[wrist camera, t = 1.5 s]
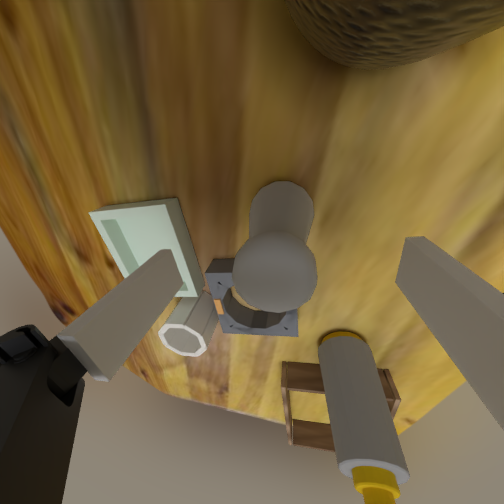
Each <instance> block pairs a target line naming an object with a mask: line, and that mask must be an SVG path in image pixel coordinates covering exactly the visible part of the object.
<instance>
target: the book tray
mask: <svg viewBox="0 0 504 504" xmlns="http://www.w3.org/2000/svg"><path fill="white" fill-rule="evenodd" d="M377 371H378V374H379V377H380V381H381V384H382V387H383V390H384V394H385V397H386V400H387V403H388V406H389V410H390V413H391V416H392V419H394V416H395V414H396V411H397V409H398V407H399V404H400V402H401V398H400V396H399V393H398V391H397V389H396V386H395V384H394V381H393V379H392V377H391V374H390V372H389V370H386V369H384V371H382V369H377ZM281 390H282V398H283V405H284V412H285V420H286V427H287V435H288V442H289V445H292V417H291V407H290V397H289V390H292V391H301V392H310V393H319V394H325V390H324V385H323V379H322V373H321V368H320V364H310V363H297V362H288V374H287V368H286V362H284V361H282V378H281ZM293 445H294V446H300V447H307V448H313V449H319V450H324V451H331V452H335V447H334V441H333V435H332V430H331V425H330V424H323V423H316V422H309V421H301V420H294V419H293Z"/></svg>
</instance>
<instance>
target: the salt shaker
mask: <svg viewBox="0 0 504 504" xmlns="http://www.w3.org/2000/svg"><path fill="white" fill-rule="evenodd" d="M313 218H314V208H313V201H312V199H311V198H310V196H309V195H308V193H307V192H306V191H305V189H304V188H302V187H300V186H298V185H297V184H295V183H293V182H291V181H275V182H273V183H271V184H269V185H267V186H265V187H263V188H261V189H260V190H259V192H258V193H257V194H256V196H255V197H254V198H253V200H252V204H251V209H250V213H249V239H248V240H247V241H246V242H245V244H244V245H243V246H242V247H241V248H240V250H239V251H238V253H237V254H236V256H235V261H234V266H233V272H232V278H231V279H232V281H233V284H234V286H235V289H236V292H237V293H238V294H239V295H240V296H241V297H242V298H243V299H244V300H245V301H246V302H247V303H248V304H249V305H251V306H254V307H256V308H258V309H260V310H263V311H267V312H275V313H281V312H285V311H289V310H293V309H297V308H298V307H300V306H301V305H303V304H304V303H306V302H307V301H308V300H310V298H311V296H312V294H313V292H314V290H315V287H316V285H317V269H316V261H315V257H314V254H313V253H312V252H311V250H310V249H309V248H308V247H307V245H306V242H307V239H308V235H309V232H310V228H311V225H312V221H313Z"/></svg>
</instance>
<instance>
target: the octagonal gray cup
mask: <svg viewBox="0 0 504 504" xmlns="http://www.w3.org/2000/svg"><path fill="white" fill-rule="evenodd" d="M218 320H219V317H218V314H217V311H216V308H215V305H214V301H213V298H212V295H210V294H209V293H207V292H206V291H203V290H202V291H201V293H200V294H199V296H198V297H182V298H181V299H180V301H179V302H178V304H177V305H176V307H175V308H174V310H173V311H172V313H171V314H170V315H169V317H168V318H167V320H166V321H165V323H164V324H163V326H162V327H161V329H160V330H159V332H158V335H159V337H160V339H161V340H162V342H163V344H164V345H166V346H165V347H167V348H169V349H171V350H172V351H174V352H176V353H178V354H179V355H180V354H181V355H183V356H195V357H197V356H200V355H201V354H202V353H203V352H204V351H205V350H207V348H208V345H209V343H210V340H211V338H212V335H213V333H214V330H215V328H216V325H217V323H218Z"/></svg>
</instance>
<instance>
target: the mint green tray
mask: <svg viewBox="0 0 504 504" xmlns="http://www.w3.org/2000/svg"><path fill="white" fill-rule="evenodd" d="M88 213H89V215H90V216H91V218H92V220H93V222H94V224H95V225H96V227H97V229H98V231H99V233H100V234H101V236H102V238H103V240H104V242H105V244H106V245H107V247H108V249H109V251H110V253H111V254H112V256H113V258H114V260H115V262H116V264H117V265H118V267H119V269H120V271H121V273H122V274H123V276H124V278H127V277H128V276H129V275H130V274H131V273H133V272H134V271H135V270H136V269H138V268H139V267H140V266H141V265H142V264H144V263H145V262H146V261H147V260H148V259H150V258H151V257H152V256H153V255H154V254H156V253H157V252H158V251H159V250H161V249H171V250H172V253H173V256H174V258H175V261H176V264H177V266H178V269H179V272H180V275H181V277H182V280H183V283H184V284H183V285H182V287H181V288H180V289H179V291H178V292H177V293H176V295H175V296H174V297H198V296H199V294H200V293H201V291H202V289H203V287H204V286H205V282H204V279H203V276H202V273H201V270H200V267H199V264H198V261H197V258H196V254H195V251H194V248H193V245H192V242H191V239H190V236H189V233H188V229H187V226H186V223H185V220H184V217H183V214H182V211H181V208H180V204H179V201H178V198H170V199H161V200H152V201H144V202H135V203H126V204H117V205H108V206H104V207H102V208H99V209H96V210H94V211H91V212H88Z"/></svg>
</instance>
